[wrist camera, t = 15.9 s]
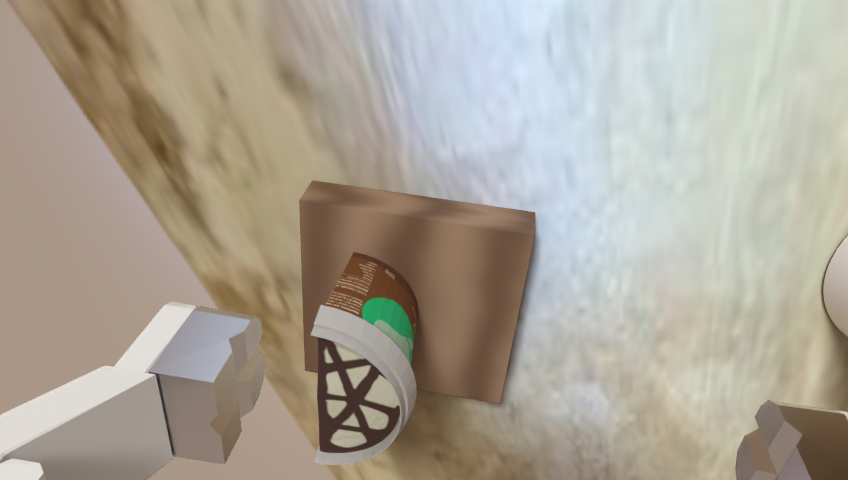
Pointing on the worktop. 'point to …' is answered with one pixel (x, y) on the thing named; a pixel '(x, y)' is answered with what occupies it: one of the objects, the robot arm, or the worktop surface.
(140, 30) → the worktop surface
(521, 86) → the worktop surface
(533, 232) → the walnut base
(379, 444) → the food container
